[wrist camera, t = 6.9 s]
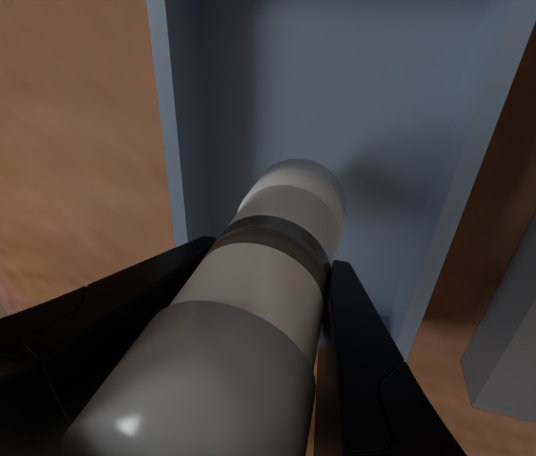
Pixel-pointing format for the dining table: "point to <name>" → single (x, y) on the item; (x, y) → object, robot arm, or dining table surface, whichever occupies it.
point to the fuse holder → (507, 341)
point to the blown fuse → (231, 336)
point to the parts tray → (339, 119)
